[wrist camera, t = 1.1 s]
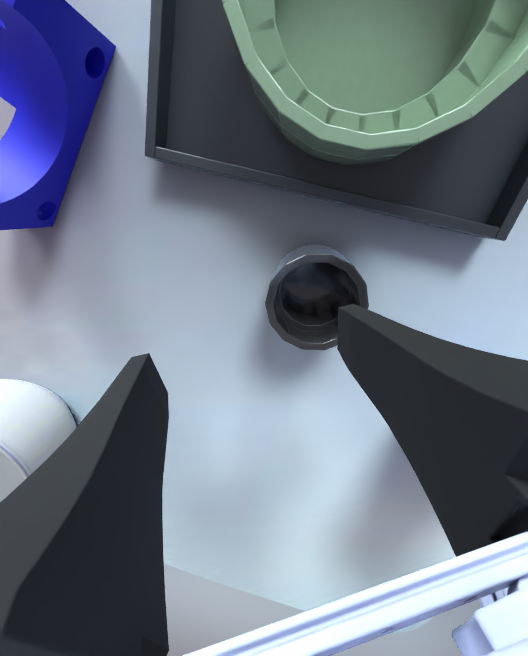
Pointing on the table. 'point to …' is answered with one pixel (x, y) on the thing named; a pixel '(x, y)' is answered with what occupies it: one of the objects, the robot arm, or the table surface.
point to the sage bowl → (377, 68)
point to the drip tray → (314, 174)
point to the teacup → (29, 430)
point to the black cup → (312, 296)
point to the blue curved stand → (45, 103)
